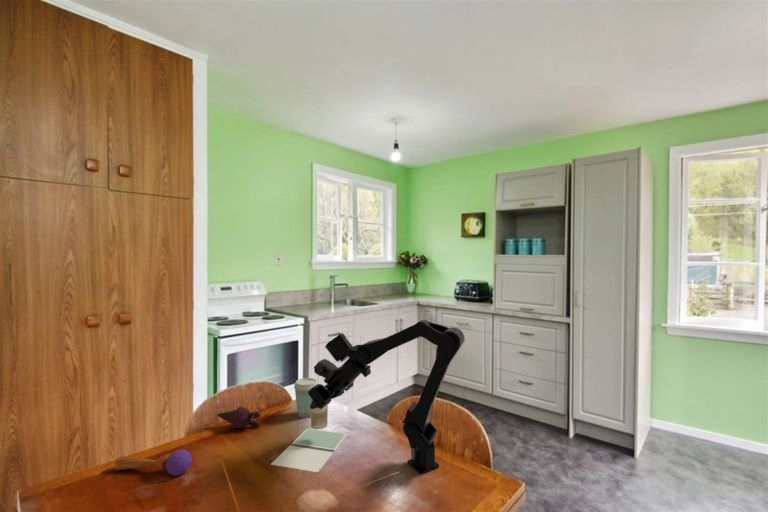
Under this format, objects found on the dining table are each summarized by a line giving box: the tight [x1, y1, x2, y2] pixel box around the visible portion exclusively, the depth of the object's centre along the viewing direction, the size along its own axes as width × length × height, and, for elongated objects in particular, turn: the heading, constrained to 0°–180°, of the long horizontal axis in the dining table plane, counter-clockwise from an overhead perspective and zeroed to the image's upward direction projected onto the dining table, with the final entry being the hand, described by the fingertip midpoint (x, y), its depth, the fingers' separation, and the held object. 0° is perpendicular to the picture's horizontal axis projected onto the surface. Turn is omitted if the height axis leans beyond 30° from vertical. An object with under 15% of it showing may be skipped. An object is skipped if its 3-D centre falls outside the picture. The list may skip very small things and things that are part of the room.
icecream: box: [216, 405, 262, 430], centre depth 123 cm, size 7×7×15 cm
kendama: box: [114, 449, 193, 477], centre depth 97 cm, size 6×6×20 cm
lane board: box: [270, 428, 348, 473], centre depth 109 cm, size 22×14×1 cm, turn 165°
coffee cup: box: [293, 377, 319, 419], centre depth 133 cm, size 8×8×12 cm
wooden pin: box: [310, 384, 329, 430], centre depth 114 cm, size 5×5×12 cm
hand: (315, 404), depth 114 cm, fingers closed on wooden pin, 5 cm apart
